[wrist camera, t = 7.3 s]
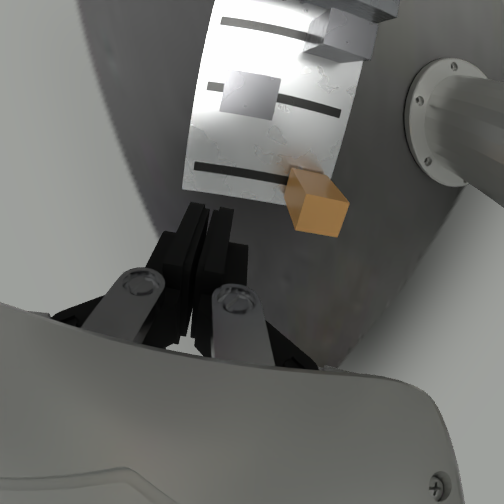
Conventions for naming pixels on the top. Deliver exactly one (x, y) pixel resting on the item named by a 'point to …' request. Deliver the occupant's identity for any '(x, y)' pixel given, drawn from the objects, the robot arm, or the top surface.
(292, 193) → the cap
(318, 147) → the console
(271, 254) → the top surface
